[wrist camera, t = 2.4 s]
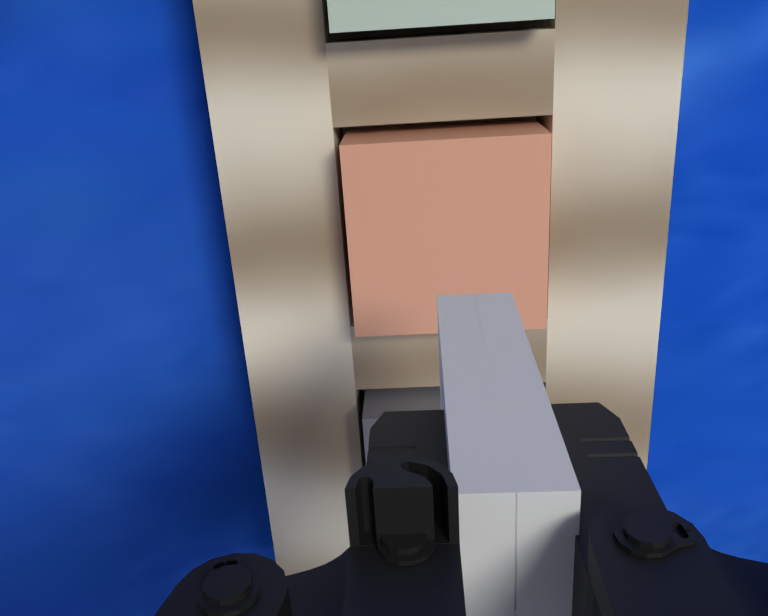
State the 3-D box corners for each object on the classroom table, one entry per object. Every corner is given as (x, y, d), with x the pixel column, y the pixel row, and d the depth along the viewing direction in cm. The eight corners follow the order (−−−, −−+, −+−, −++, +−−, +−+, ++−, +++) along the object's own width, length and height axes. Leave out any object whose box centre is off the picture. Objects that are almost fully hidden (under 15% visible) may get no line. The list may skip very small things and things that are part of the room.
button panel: (191, -248, 22) (143, -306, 18) (665, -288, 21) (725, -358, 17) (293, 513, 32) (277, 583, 28) (610, 503, 32) (639, 574, 28)
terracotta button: (347, 129, 23) (339, 145, 21) (534, 118, 23) (551, 133, 20) (360, 301, 26) (355, 336, 23) (531, 293, 25) (546, 328, 23)
